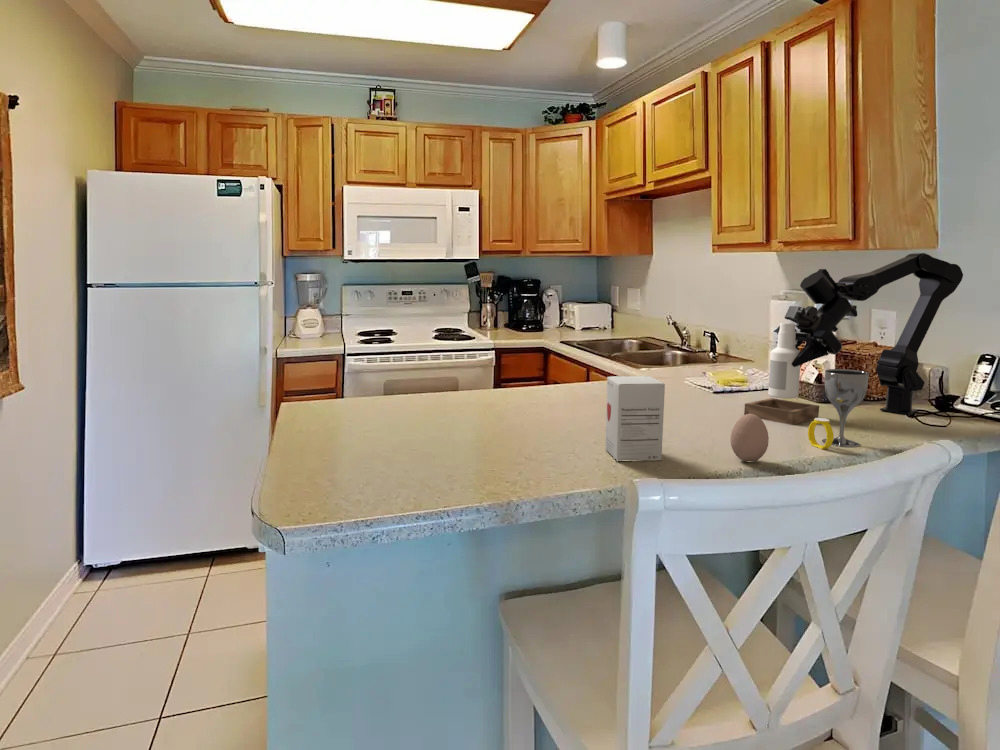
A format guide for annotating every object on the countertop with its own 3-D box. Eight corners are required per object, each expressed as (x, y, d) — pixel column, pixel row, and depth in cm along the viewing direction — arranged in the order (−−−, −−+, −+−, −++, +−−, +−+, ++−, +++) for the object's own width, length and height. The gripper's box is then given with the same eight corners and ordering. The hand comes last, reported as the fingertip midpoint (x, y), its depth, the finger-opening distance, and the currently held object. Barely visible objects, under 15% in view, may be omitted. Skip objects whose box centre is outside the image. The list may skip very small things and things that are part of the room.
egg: (728, 455, 125) (731, 409, 124) (765, 458, 123) (768, 411, 122) (730, 465, 119) (733, 416, 118) (768, 468, 117) (772, 418, 116)
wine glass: (868, 448, 130) (875, 375, 128) (825, 446, 132) (831, 374, 130) (855, 439, 138) (861, 369, 136) (815, 437, 140) (820, 368, 137)
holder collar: (771, 409, 168) (771, 398, 168) (818, 417, 159) (819, 405, 158) (744, 415, 161) (744, 403, 160) (792, 424, 151) (792, 412, 151)
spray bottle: (771, 392, 164) (775, 321, 161) (800, 395, 160) (805, 322, 157) (765, 397, 158) (769, 323, 155) (795, 399, 154) (800, 324, 152)
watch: (835, 452, 129) (839, 423, 128) (822, 452, 128) (826, 424, 127) (814, 442, 135) (818, 415, 133) (803, 443, 134) (806, 415, 133)
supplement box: (603, 449, 129) (606, 375, 127) (647, 448, 130) (650, 375, 128) (615, 462, 120) (618, 383, 118) (662, 461, 121) (666, 382, 119)
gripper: (784, 293, 165) (742, 337, 165) (834, 295, 147) (787, 345, 147) (810, 323, 168) (769, 366, 167) (862, 329, 150) (816, 378, 149)
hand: (783, 363), depth 158 cm, fingers closed on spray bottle, 7 cm apart
